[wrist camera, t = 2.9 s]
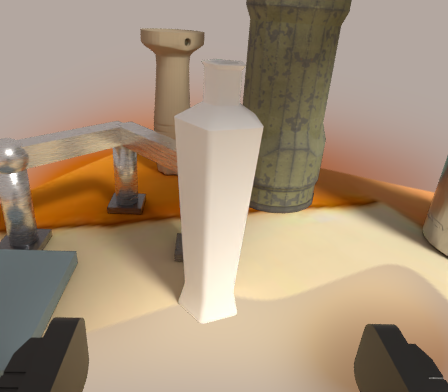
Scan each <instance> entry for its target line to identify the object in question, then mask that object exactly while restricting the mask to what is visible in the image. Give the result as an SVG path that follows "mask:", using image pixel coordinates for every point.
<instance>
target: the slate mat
mask: <svg viewBox="0 0 448 392" xmlns="http://www.w3.org/2000/svg"><path fill="white" fill-rule="evenodd" d="M77 263H78V262H77V254H76V251H45V250H9V249H0V377H1V375H3V373H4V370H5V368H6V366H7V365H8V363H9V361H10V359H11V357H12V355H13V354H14V352H16V351H17V350H18V349H19V348H20V347H21V346H22V345H23V344H24V343H25V342H26V341H27V340H28V339H30V338H31V337H37V338H41V336H42V334H43V332H44V330H45V328H46V326H47V324H48V322H49V320H50V318H51V316H52V314H53V312H54V310H55V308H56V306H57V304H58V302H59V300H60V297H61V295H62V293H63V291H64V289H65V287H66V285H67V283H68V281H69V279H70V277H71V275H72V273H73V271H74V269H75V267H76V265H77Z"/></svg>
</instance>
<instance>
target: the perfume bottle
mask: <svg viewBox="0 0 448 392" xmlns="http://www.w3.org/2000/svg"><path fill="white" fill-rule="evenodd" d="M201 62H202V64H203V65H204V88H203V89H204V90H203V101H202V102H200V103H198V104H197V105H195V106H193V107H191V108H189V109H187V110H185V111H183V112H181V113H179V114H177V115H175V116H174V120H175V135H176V151H177V167H178V182H179V198H180V214H181V229H182V245H183V261H184V276H185V284H184V286H183V289H182V292H181V295H180V298H179V301H178V303H179V304H180V305H181V306H182V307H183V308H184V309H185V310H186V311H187V312H188V313H189V314H190V315H191V316H192V317H193V318H194V319H196V320H197V321H198V322H199V323H202V324H203V323H208V322H211V321H215V320H218V319H223V318H226V317H230V316H234V315H236V313H237V310H236V304H235V298H234V292H233V290H234V284H235V279H236V274H237V268H238V263H239V257H240V252H241V246H242V241H243V236H244V230H245V225H246V219H247V214H248V209H249V203H250V198H251V192H252V187H253V182H254V176H255V171H256V165H257V160H258V154H259V149H260V144H261V138H262V133H263V127H264V126H263V125H262V123H261V122H260V120H259V119H258V117H257V116H256V114H255V113H253V112H252V111H250V110H249V109H248V108H246V107H245V106H243V105H242V104H241V103H240V93H241V82H242V70H243V69H244V67H245V66H246V65H245V64H244V63H243V62H240V61H231V60H221V59H211V60H204V61H201Z"/></svg>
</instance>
